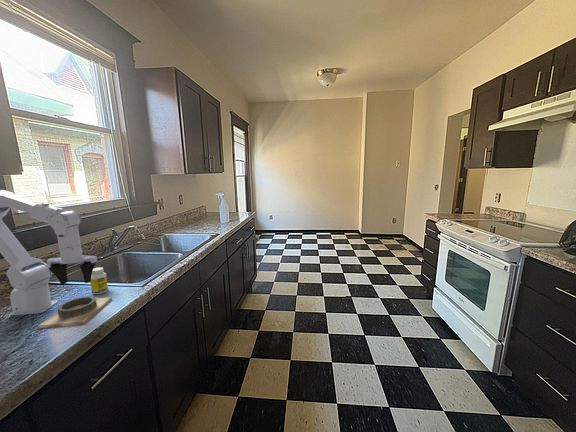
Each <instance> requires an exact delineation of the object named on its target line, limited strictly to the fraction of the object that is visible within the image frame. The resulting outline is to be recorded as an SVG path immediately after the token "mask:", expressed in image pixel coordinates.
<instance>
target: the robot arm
mask: <svg viewBox="0 0 576 432" xmlns="http://www.w3.org/2000/svg"><path fill="white" fill-rule="evenodd" d="M10 209H13V210H16V211H21V212H25V213H28V214H29V216H30V217H31V218H32V219H34V220H37V221H41V222H43V223H46V224H48V225H49V226H50V227H51V228H52V229H53V231H54V234H55V235H56V236H57V243H58V249H59V254H60V255H59V256H60V257H54V258H53V257H52V258H49V259H47V260H46V262H44V260H43V259H42V258H38V257H32V256H31V255H30V253H29V252H28V251H27V249H25V247H24V246H23V245H22V244H21V242H20V241H19V239H18V238H17V237H16V236H15V235H14V234H13V232H12V231H11V230H10V228H9V227H8V226H7V225H6V223H5V222H4V220H3V218H4V217H5V216H7V214H8V213H9V212H10ZM81 222H82V217H81V215H80V214H79V213H78V212H77V211H75V210H74V209H73V210H72V209H70V210H64V209H63V208H62V207H55V206H52V205H51V204H50V203H48V202H38V203H34V202H32V201H29V200H28V199H24V198H23V197H20V196H17V195H15V194H14V192H11V191H9V190H4V189H0V254H1V256H2V257H3V258H4V260H6V261H7V263H8V265H10V266H9V268H8V269H7V271H6V273H5V275H6V276H7V278H8V280H9V284H10V286H11V287H12V288H13V289H12V291H11V292H10V295H9V299H10V300H9V301H10V304H11V309H12V313H10V316H20V315H31V314H33V315H34V314H41V313H44V312H45V311H47V310H49V309H50V308H51V307H53V306H55V305H56V304H58V302H59V300H52V298H51V292H50V286H49V282H50V280H51V279H50V278H52V276H53V274H54V276H55V277H56V278H57V280H58V281H59V283H60V285H62V286H63V285H66V283H68V273H67V270H68V269H67V268H68V265H70V264H80V265H79V268H80V270H81V272H82V276H83V279H84V283H85V284H88V283H90V281H91V276H92V271H93V269H94V268H95V267H96V264H97V262H98V257H97V255H83V249H82V245H81V244H82V242H81V236H80V230H79V225H81Z"/></svg>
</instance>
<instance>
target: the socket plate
mask: <svg viewBox="0 0 576 432" xmlns="http://www.w3.org/2000/svg"><path fill="white" fill-rule="evenodd" d="M112 300H113V297H112V296H110V297H109V296H108V297H107V296H106V297H96V296H93V295H86V296H85V295H84V296H80V297H75V298H73V299H69V300H67V301H64V302H63V303H62V304H60V305H58V307H57V311H56V312H54V313H53V314H51V315H50V317H48V318H46V319H45V320H44V321H42V322H41V323H39V324H38V325H37V327H38V329H46V328H55V327H57V328H58V327H69V326H70V327H71V326H80V325H81V326H82V325H85V324H87V323H88V322H89V321H90V320H91V319H92V318H93V317H94V316H96V315H97V314H98V313H99V312H100V311H101V310H102V309H103V308H104V307H106V306H107V304H109V303H110V302H111V301H112Z"/></svg>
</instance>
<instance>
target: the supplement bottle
mask: <svg viewBox="0 0 576 432" xmlns="http://www.w3.org/2000/svg"><path fill="white" fill-rule="evenodd" d="M107 276H108V275H107V273H106V272H105V271H104V267H94V268H93V271H92V276H91V281H90V282H89V285H90V290H91V294H92V295H101V294H104V293H107V292H108V290H109V286H108V277H107Z"/></svg>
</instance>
